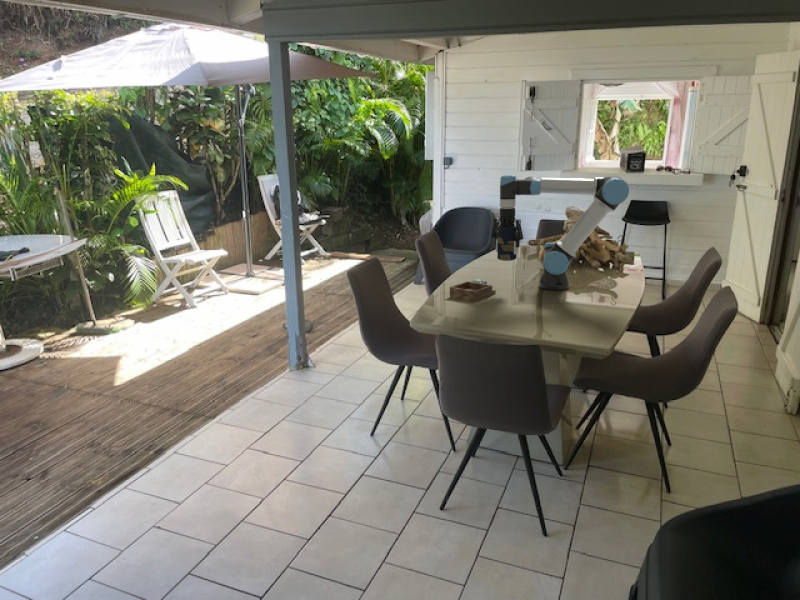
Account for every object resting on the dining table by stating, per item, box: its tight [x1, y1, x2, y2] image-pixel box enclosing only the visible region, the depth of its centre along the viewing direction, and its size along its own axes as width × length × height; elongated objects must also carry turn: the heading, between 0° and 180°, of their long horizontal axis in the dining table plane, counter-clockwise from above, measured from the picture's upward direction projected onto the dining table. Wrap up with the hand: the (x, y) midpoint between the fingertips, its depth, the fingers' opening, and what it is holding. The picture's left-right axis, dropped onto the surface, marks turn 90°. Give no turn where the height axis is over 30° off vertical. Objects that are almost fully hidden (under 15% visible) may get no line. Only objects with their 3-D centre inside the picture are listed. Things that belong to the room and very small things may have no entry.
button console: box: [469, 279, 488, 285], centre depth 316 cm, size 7×7×4 cm
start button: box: [474, 278, 482, 283], centre depth 315 cm, size 4×4×4 cm
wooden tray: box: [449, 280, 496, 303], centre depth 302 cm, size 15×18×5 cm
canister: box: [496, 225, 517, 262], centre depth 302 cm, size 10×10×18 cm
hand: (506, 252), depth 303 cm, fingers closed on canister, 9 cm apart
